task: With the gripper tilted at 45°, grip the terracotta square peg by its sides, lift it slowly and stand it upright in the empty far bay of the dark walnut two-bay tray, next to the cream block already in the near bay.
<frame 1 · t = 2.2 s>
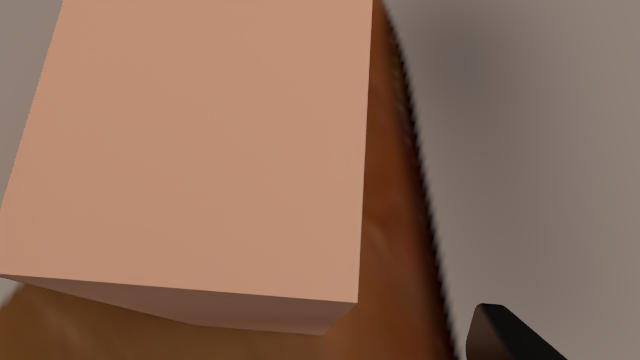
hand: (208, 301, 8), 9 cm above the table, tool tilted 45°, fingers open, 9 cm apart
terracotta peg: (265, 266, 18), on the table
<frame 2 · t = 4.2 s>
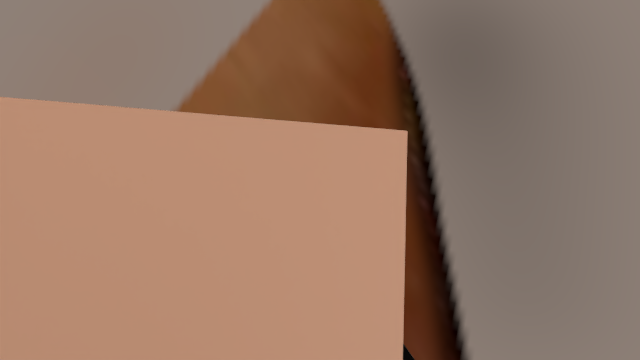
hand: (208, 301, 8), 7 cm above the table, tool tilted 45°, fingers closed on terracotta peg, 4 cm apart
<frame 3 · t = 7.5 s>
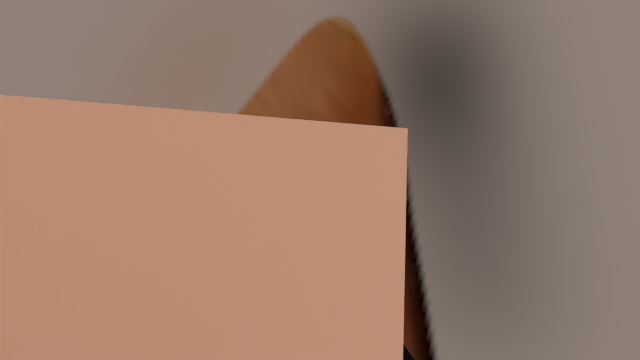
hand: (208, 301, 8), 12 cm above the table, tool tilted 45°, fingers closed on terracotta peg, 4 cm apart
when the fingers open (9 cm above the table, at t = 10.7 s): terracotta peg stays where it is, resting on walnut slot tray.
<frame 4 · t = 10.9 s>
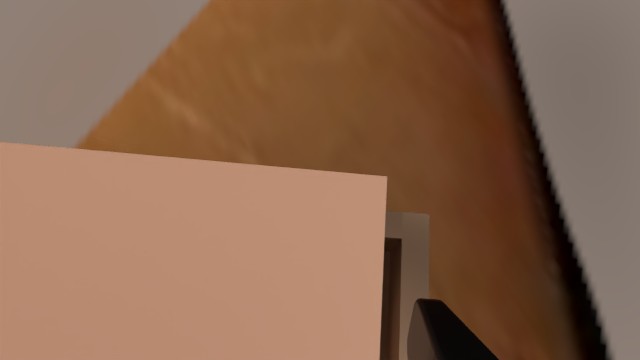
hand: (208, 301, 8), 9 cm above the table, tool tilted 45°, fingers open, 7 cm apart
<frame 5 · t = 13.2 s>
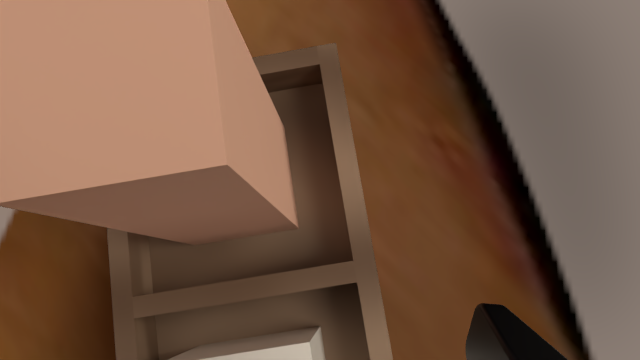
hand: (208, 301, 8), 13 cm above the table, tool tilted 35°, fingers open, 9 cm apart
terracotta peg: (240, 185, 21), point 1 cm above the table, touching walnut slot tray
walnut slot tray: (258, 287, 21), on the table
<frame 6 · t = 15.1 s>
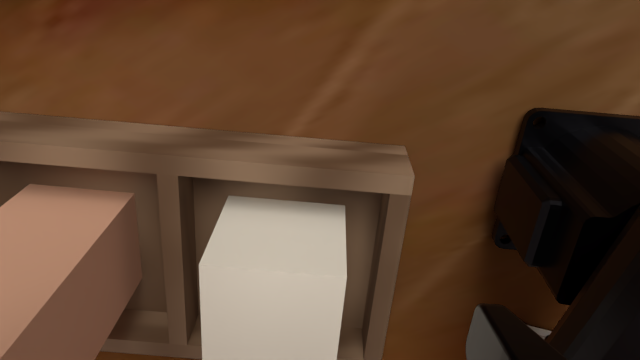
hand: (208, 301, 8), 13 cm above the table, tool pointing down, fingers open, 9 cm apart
cream block: (284, 249, 22), point 1 cm above the table, touching walnut slot tray
terracotta peg: (88, 232, 22), point 1 cm above the table, touching walnut slot tray
walnut slot tray: (192, 229, 23), on the table
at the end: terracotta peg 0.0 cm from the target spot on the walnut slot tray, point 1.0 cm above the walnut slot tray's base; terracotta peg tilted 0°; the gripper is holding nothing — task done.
